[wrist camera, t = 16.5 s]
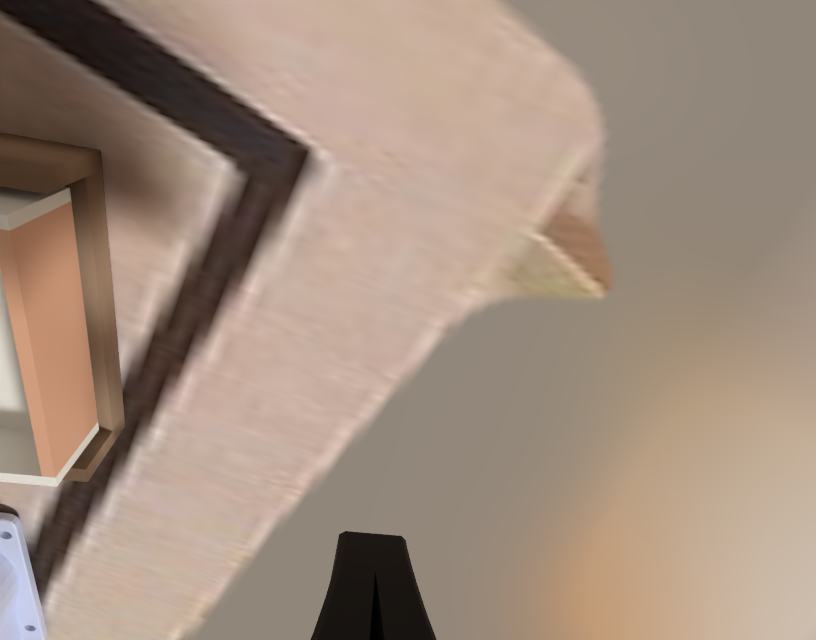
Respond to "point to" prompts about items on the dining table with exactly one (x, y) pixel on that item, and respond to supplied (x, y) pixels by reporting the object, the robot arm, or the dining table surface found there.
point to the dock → (82, 172)
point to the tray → (42, 340)
